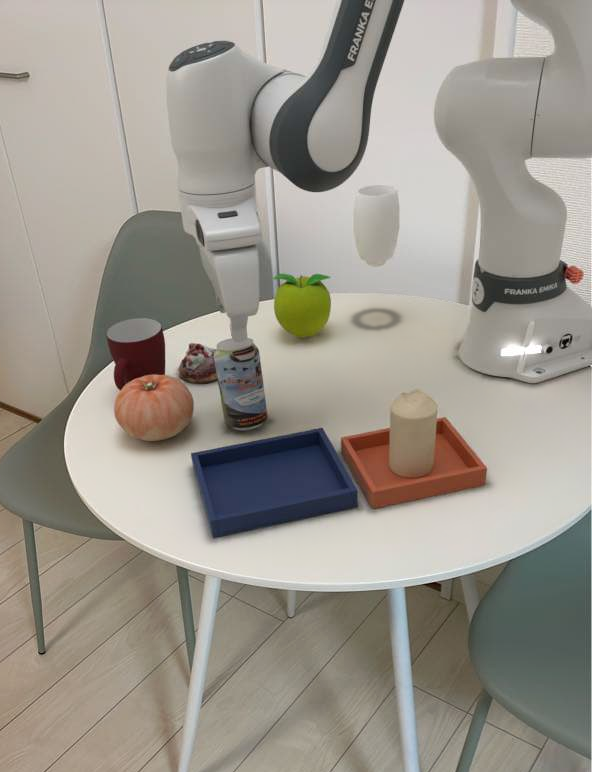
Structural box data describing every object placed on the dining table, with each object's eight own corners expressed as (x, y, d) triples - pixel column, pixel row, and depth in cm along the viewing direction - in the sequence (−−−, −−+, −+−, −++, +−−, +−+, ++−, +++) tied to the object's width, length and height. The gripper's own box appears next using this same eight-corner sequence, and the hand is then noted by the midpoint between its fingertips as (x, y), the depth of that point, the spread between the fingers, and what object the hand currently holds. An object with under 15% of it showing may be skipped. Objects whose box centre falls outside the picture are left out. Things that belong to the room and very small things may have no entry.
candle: (383, 474, 93) (385, 403, 87) (395, 450, 97) (397, 381, 91) (427, 481, 91) (432, 410, 85) (438, 457, 95) (443, 386, 89)
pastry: (171, 380, 116) (165, 350, 113) (192, 358, 122) (187, 329, 118) (218, 386, 114) (213, 356, 111) (237, 363, 119) (234, 334, 116)
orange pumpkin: (109, 426, 107) (97, 376, 102) (179, 404, 111) (170, 354, 106) (136, 462, 100) (124, 410, 95) (210, 436, 103) (202, 385, 98)
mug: (156, 415, 109) (142, 352, 102) (105, 412, 110) (88, 349, 104) (181, 380, 116) (170, 319, 110) (132, 377, 118) (119, 316, 112)
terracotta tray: (444, 432, 100) (445, 416, 99) (485, 485, 91) (487, 468, 89) (341, 453, 98) (340, 437, 97) (372, 509, 89) (372, 492, 87)
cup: (366, 331, 125) (367, 200, 111) (347, 316, 130) (344, 188, 117) (405, 321, 127) (409, 191, 113) (383, 306, 132) (386, 180, 118)
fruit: (280, 322, 130) (275, 264, 123) (334, 322, 128) (332, 264, 122) (272, 346, 123) (267, 287, 116) (328, 347, 122) (326, 286, 115)
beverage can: (236, 441, 102) (225, 361, 94) (214, 417, 107) (203, 339, 99) (277, 428, 104) (270, 347, 96) (254, 405, 109) (246, 327, 101)
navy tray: (323, 443, 100) (322, 427, 99) (357, 507, 89) (357, 490, 88) (193, 469, 98) (190, 453, 96) (212, 538, 87) (209, 521, 85)
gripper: (180, 191, 95) (195, 298, 103) (206, 241, 79) (222, 362, 88) (229, 185, 96) (240, 291, 104) (265, 232, 80) (274, 353, 89)
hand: (232, 324), depth 96 cm, fingers open, 8 cm apart
